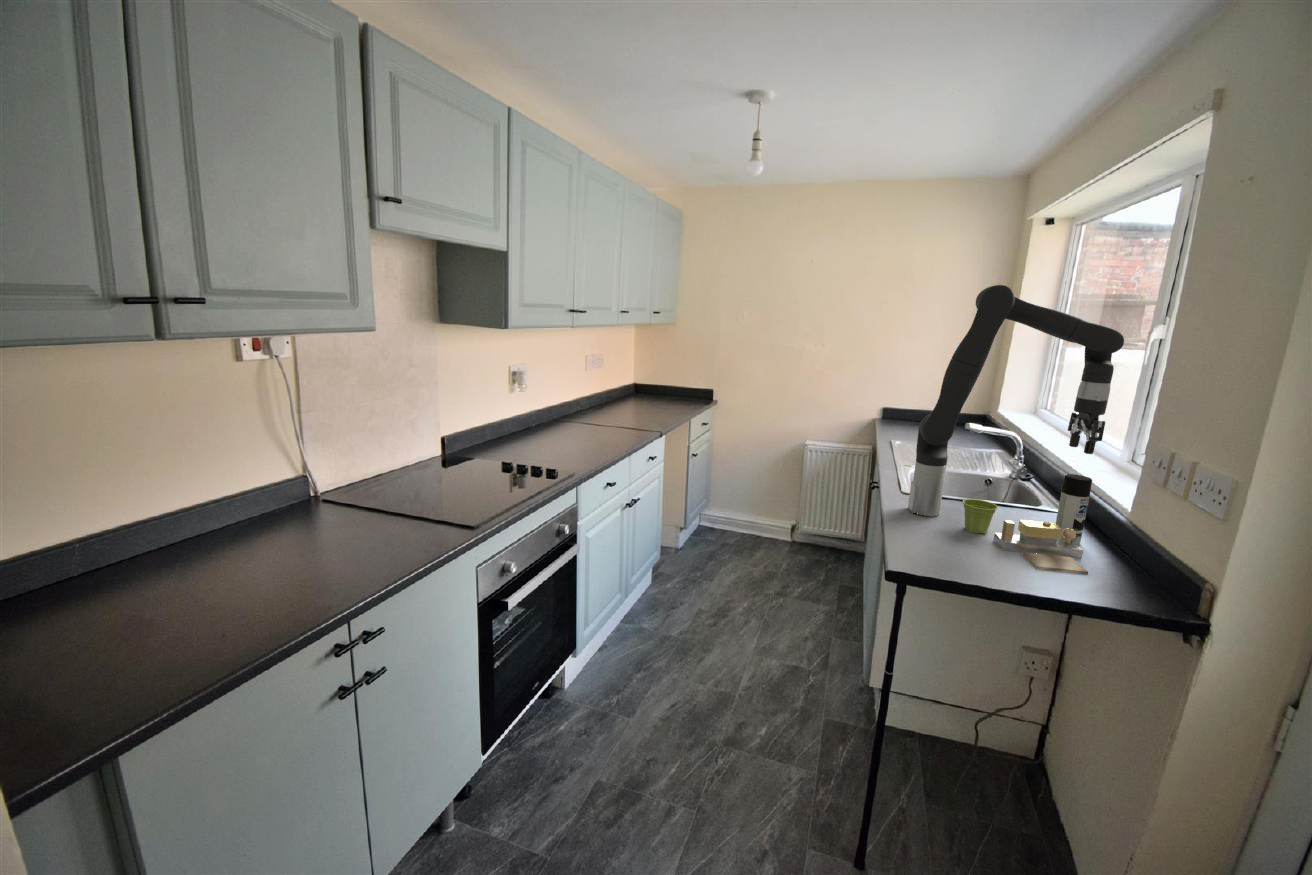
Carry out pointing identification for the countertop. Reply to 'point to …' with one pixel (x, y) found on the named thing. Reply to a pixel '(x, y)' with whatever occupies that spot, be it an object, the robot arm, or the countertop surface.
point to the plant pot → (978, 515)
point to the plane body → (1037, 542)
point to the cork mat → (1054, 563)
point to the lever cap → (1040, 529)
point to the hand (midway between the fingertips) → (1080, 450)
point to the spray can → (1074, 504)
